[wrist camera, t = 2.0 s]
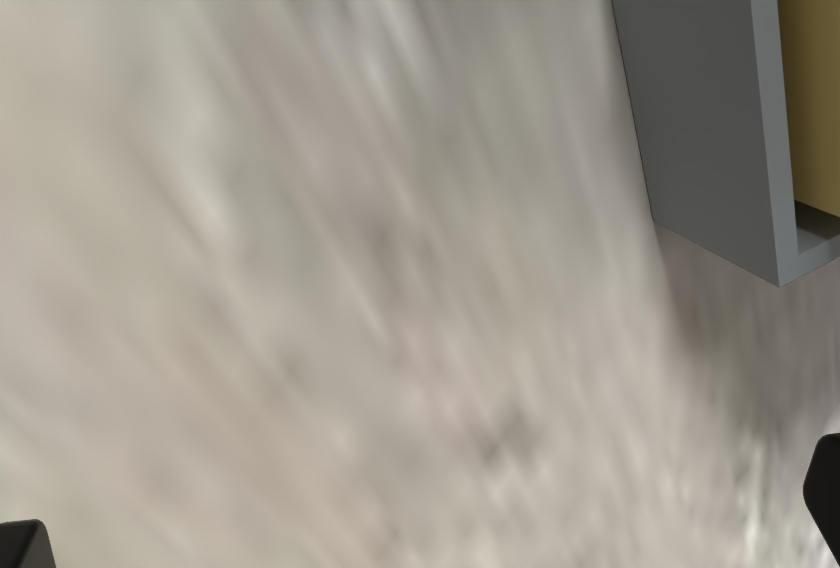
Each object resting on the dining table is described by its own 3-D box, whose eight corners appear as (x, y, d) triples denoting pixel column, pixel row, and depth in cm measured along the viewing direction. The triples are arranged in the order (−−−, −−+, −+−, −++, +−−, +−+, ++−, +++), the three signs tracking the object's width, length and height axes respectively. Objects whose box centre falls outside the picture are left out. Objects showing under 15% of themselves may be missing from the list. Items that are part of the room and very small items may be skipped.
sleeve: (653, 220, 23) (779, 287, 18) (593, -101, 18) (739, -113, 14) (894, 102, 24) (1065, 139, 20) (891, -222, 20) (1107, -267, 15)
